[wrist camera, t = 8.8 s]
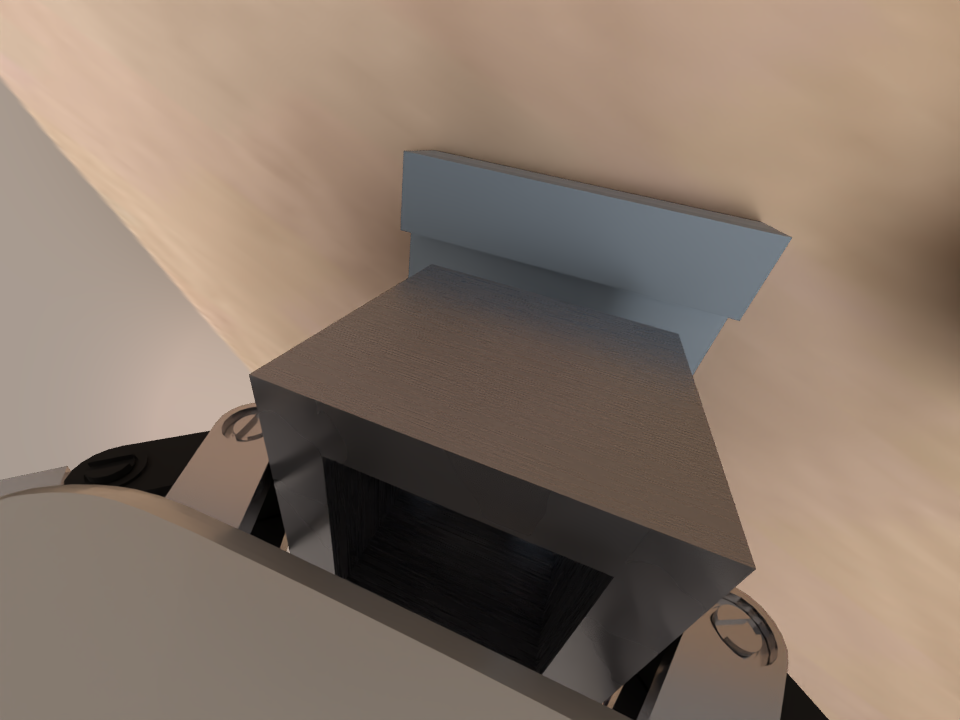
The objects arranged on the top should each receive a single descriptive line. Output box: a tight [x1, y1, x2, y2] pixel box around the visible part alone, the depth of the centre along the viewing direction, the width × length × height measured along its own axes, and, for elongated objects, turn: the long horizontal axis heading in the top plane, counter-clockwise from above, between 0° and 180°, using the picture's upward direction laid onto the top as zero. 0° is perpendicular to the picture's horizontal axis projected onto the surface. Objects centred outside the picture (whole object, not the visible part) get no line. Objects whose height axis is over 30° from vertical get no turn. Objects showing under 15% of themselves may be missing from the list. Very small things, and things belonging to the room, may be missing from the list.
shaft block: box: [401, 150, 792, 376], centre depth 12 cm, size 11×11×8 cm
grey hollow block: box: [249, 264, 756, 704], centre depth 9 cm, size 7×7×6 cm
